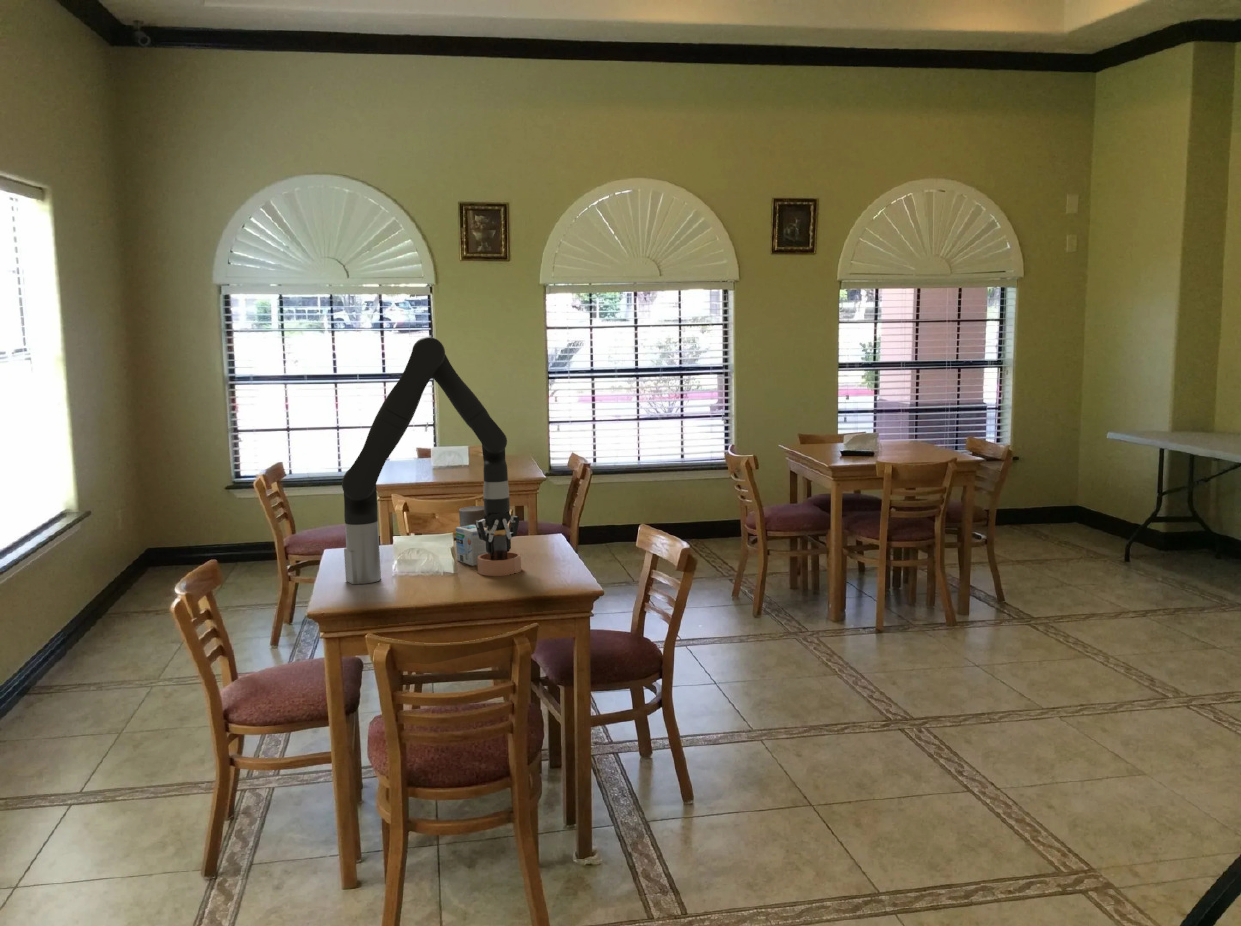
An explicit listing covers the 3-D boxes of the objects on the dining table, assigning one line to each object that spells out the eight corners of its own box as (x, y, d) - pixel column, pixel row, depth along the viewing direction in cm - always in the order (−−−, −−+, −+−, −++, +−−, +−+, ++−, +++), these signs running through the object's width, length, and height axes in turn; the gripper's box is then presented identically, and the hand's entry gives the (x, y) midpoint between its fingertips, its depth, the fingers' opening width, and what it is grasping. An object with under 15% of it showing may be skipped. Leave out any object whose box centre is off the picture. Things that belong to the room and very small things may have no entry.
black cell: (495, 564, 298) (494, 531, 296) (487, 561, 302) (486, 528, 301) (510, 562, 301) (509, 529, 299) (502, 559, 305) (501, 526, 303)
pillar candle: (495, 546, 338) (493, 502, 336) (482, 552, 328) (480, 507, 327) (468, 546, 340) (466, 502, 339) (455, 551, 331) (453, 506, 330)
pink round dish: (490, 577, 293) (489, 562, 292) (470, 570, 303) (470, 555, 303) (528, 571, 300) (528, 556, 299) (508, 564, 310) (507, 549, 310)
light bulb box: (456, 560, 318) (454, 526, 316) (475, 557, 322) (473, 524, 320) (472, 566, 309) (471, 531, 308) (492, 562, 313) (490, 528, 312)
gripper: (480, 500, 292) (482, 558, 294) (523, 494, 300) (526, 551, 302) (468, 497, 298) (471, 554, 300) (511, 492, 306) (513, 547, 308)
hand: (498, 552), depth 301 cm, fingers closed on black cell, 5 cm apart
